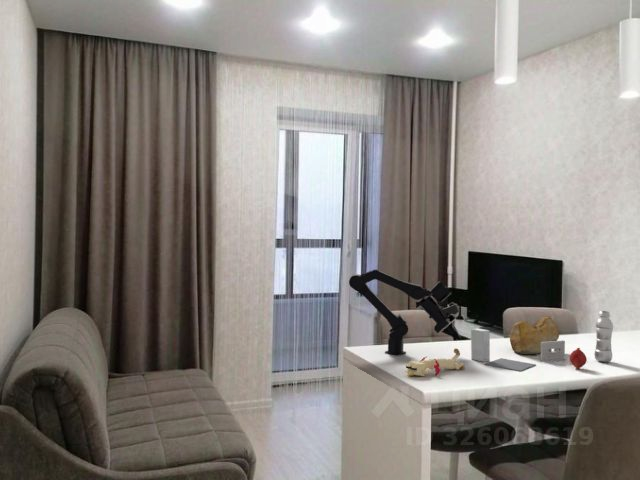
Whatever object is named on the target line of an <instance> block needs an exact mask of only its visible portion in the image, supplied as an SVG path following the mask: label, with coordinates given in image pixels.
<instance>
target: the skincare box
mask: <svg viewBox="0 0 640 480" xmlns="http://www.w3.org/2000/svg"><path fill="white" fill-rule="evenodd" d="M490 333H491V332H490V330H488V329H483V328H472V329H471V330H470V334H471V335H470V336H471V337H470V339H471V341H470V343H471V344H470V345H471V346H470V348H471V349H470V351H471V357H470V359H471V360H475V361H478V362H482V363H483V362H484V363H487V362H490V361H491V359H490V358H491V357H490V356H491V355H490V351H491V350H490V347H491V343H490V340H491V339H490Z"/></svg>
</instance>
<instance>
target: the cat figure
mask: <svg viewBox="0 0 640 480" xmlns="http://www.w3.org/2000/svg"><path fill="white" fill-rule="evenodd" d="M453 353H454V354H455V355H453V357H452V358H451V359H450V358H448V359H447V358H429V359H426V358H428V356H424V357H422V358H421V360H419V361H415V360H414V361H413V360H410V361H409V362H408V363H407V365H405V369H407V370H405V372H406V374H407V376H419V377H420V376H421V377H422V376H423V377H424V376H426V374H429V372H430V370H434V369H435V370H434V372H435V373H434V376H438V375H439V374H440V373H441V369H449V370H460V371H463V370H465V366H464V365H465V364H464V362H460V363H458V362H457V359H459V358H460V356H461V352H460V349H458V348H454V349H453Z"/></svg>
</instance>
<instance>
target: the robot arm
mask: <svg viewBox="0 0 640 480" xmlns="http://www.w3.org/2000/svg"><path fill="white" fill-rule="evenodd" d="M375 280H377V281H378V282H379V281H380V282H381V283H384V284H386V285H388V286H391V287H393V288H396V289H397V290H400V291H401V292H403V294H404V293H405V294H406V295H407V296H409V297H410V298H411V299H413V300H416V301H415V309H419V308H420V307H421V309H422V310H423V311H425V313H426V314H427V315H428V318H429V319H430V320H431V319H432V321H433V322H434V323H435V325H434V328H433V330H434V331H435V333H437V334H439V333H440V332H441V333H443V334H445V335H448V336H450V337H452V338H453V339H456V340H458V341H459V340H461V339H462V337H461V335H460V332H458V329H457V327H456V325H455V324H456V320H455V319H457V316H456V314H457V313H460V311H461V310H460V307H459V304H458V303H455V302H450V303H449V304H448V306H447V307H444V306H440V305H439V304H438V302H441V303H443V301H444V300H445V299H447V298H448V297H449V296H450V295H452V291H451V290H450V289H449V288H448V287H447V286H446V285H444V284H443V283H442V282H441V281H440V280H439V281H437V283H436V284H435V285H434V286H433V287H432V288H423V287H422V286H421V285H420V284H417V283H412V282H407V281H404V280H402V279H399V278H397V277H394V276H392V275H390V274H388V273H385V272H383V271H380V270H379V269H377V268H373V269H372V270H370V271H367V272H364V273H362V274H359V273H356V274H353V275H351V276H350V278H349V281H348V285H349V286H350V288H352V289H353V290H354V291H355V292H357V293H358V294H360V295H362V296H363V297H364V298H365V299H366V300H367V301H368V302H369V303H370V304H371V305H372V306H373V307H374V308H375V309H376V310H377V312H378V313H379V314H381V315H382V316H383V317H384V319H386V321H387V323H388V324H389V325H390V327H391V329H389V330H388V336H389V337H388V338H387V350H386V351H384V353H385V354H390V355H396V356H399V355H403V354H406V353H407V351H404V336H406V335H407V334H408V332H409V325H408V322H407V319H405V318H403V316H402V315H401V314H400V313H398V315H397V314H395V313H394V312H393V311H392V310H391V309H390V308H389V307H388V306H387V305H386V304H385V303H384V302H383V301H382V300H381V299H380V298H379V297H378V296H377V295H376V293H374V292H373V291H372V289H371V288H370V287H369V284H368V283H369V282H371V281H375ZM425 297H426V298H425ZM433 298H434V299H433ZM436 301H437V302H436Z"/></svg>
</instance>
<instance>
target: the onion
mask: <svg viewBox="0 0 640 480" xmlns="http://www.w3.org/2000/svg"><path fill="white" fill-rule="evenodd" d="M569 361H570V364H572V366H573V367H575V369H577V370H578V369H579V370H580V369H581V368H582V367H584V366H585V365H586V363H587V356H586V354H585V353H584V352H583V351H582V350H581V347H576V349H574V350H573V351H572V352H571V353H570V354H569Z"/></svg>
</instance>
